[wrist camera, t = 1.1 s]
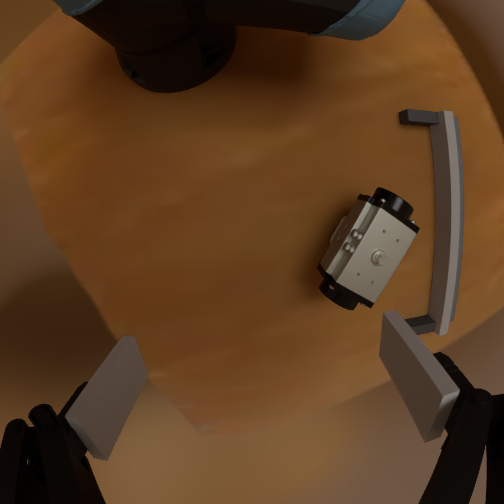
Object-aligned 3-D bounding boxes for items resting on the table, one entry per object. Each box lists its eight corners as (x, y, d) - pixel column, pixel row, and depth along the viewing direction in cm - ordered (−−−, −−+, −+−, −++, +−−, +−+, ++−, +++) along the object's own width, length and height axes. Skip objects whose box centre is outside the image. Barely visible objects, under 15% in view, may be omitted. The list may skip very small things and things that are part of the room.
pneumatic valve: (383, 203, 34) (433, 216, 23) (336, 282, 37) (366, 326, 25) (348, 179, 34) (388, 182, 22) (300, 262, 36) (318, 301, 25)
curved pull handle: (398, 112, 31) (412, 106, 27) (453, 118, 31) (469, 114, 27) (400, 329, 39) (411, 342, 35) (450, 318, 38) (463, 329, 34)
